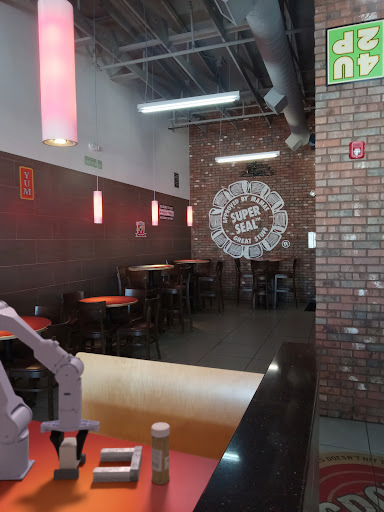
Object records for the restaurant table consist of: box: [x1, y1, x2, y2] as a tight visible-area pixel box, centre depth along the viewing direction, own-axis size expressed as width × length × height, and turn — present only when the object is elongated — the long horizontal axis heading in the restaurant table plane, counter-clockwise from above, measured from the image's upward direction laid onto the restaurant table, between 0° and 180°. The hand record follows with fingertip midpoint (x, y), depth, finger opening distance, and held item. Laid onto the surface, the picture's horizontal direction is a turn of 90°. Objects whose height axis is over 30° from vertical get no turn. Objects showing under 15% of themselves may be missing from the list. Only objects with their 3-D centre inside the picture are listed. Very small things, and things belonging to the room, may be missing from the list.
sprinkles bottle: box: [150, 421, 171, 485], centre depth 92 cm, size 5×5×14 cm
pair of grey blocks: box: [53, 453, 87, 481], centre depth 96 cm, size 6×8×2 cm
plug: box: [58, 436, 80, 469], centre depth 96 cm, size 4×5×6 cm
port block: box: [92, 445, 143, 483], centre depth 96 cm, size 11×11×3 cm
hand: (70, 458), depth 96 cm, fingers closed on plug, 4 cm apart
